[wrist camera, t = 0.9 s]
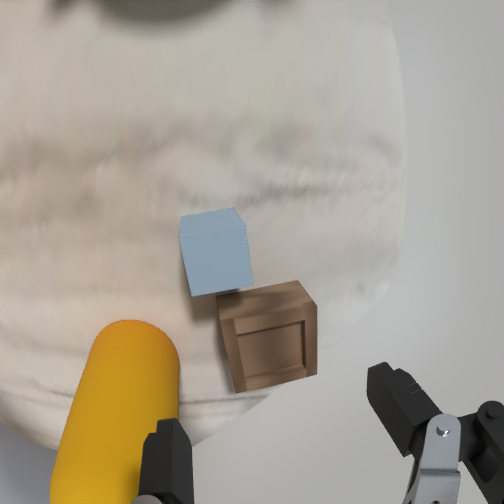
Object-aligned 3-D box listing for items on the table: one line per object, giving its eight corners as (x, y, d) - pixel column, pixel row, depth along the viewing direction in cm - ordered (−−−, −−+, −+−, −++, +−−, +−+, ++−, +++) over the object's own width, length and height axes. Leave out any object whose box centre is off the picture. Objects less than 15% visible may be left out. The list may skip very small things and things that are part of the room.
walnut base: (229, 360, 31) (235, 393, 27) (215, 296, 28) (220, 326, 24) (301, 344, 32) (317, 374, 28) (298, 280, 29) (316, 305, 25)
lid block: (191, 265, 27) (191, 296, 21) (181, 216, 25) (178, 236, 20) (241, 256, 28) (253, 285, 22) (234, 207, 26) (245, 225, 20)
